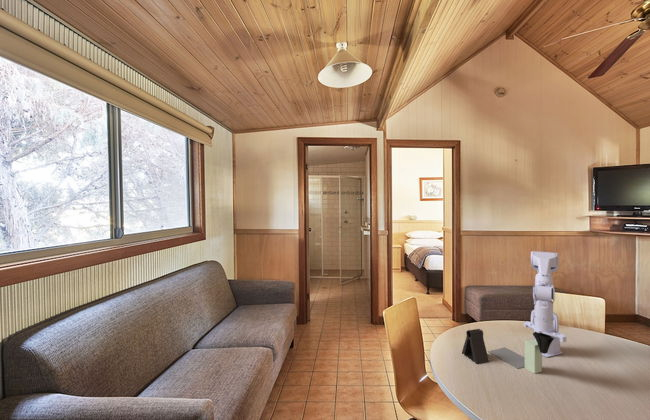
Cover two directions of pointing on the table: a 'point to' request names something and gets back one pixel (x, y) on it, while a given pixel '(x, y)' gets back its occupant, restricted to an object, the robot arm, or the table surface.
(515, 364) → the mat
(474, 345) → the phone stand
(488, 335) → the table surface
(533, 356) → the sage block
